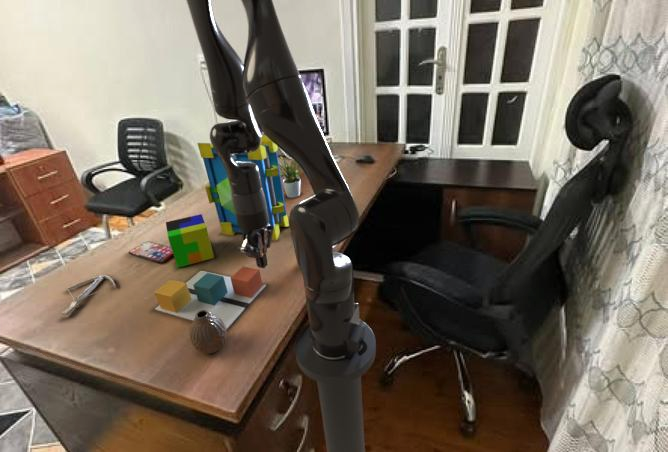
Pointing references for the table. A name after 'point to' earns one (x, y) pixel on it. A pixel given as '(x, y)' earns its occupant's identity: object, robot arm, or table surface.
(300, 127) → the robot arm
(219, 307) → the desk mat
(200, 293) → the teal block
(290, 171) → the house plant
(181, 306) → the mustard block
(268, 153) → the blue yellow-cornered frame
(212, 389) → the table surface
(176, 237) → the puzzle toy
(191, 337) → the vase
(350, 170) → the table surface
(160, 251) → the smartphone
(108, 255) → the table surface
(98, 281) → the crossbow
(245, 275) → the terracotta block
